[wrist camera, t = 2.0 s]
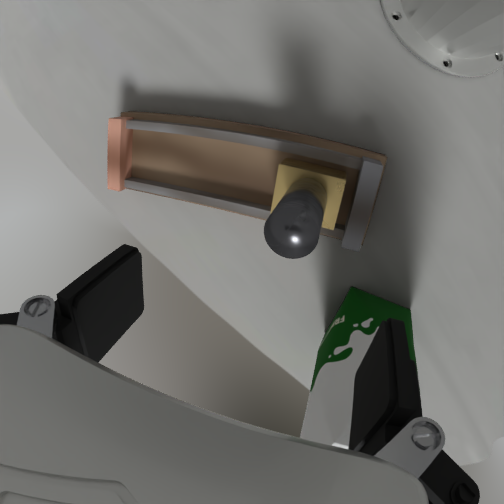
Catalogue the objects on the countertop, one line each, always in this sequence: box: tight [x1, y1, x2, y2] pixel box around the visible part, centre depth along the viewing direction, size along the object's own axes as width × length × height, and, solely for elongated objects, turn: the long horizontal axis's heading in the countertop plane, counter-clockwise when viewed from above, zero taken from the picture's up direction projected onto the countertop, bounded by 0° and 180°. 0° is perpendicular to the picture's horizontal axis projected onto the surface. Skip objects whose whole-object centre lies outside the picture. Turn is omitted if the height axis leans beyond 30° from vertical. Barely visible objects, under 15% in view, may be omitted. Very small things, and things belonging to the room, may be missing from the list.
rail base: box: [108, 111, 387, 252], centre depth 27 cm, size 8×25×4 cm, turn 82°
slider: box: [264, 158, 346, 259], centre depth 21 cm, size 4×5×10 cm
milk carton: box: [300, 287, 421, 449], centre depth 23 cm, size 9×9×20 cm
